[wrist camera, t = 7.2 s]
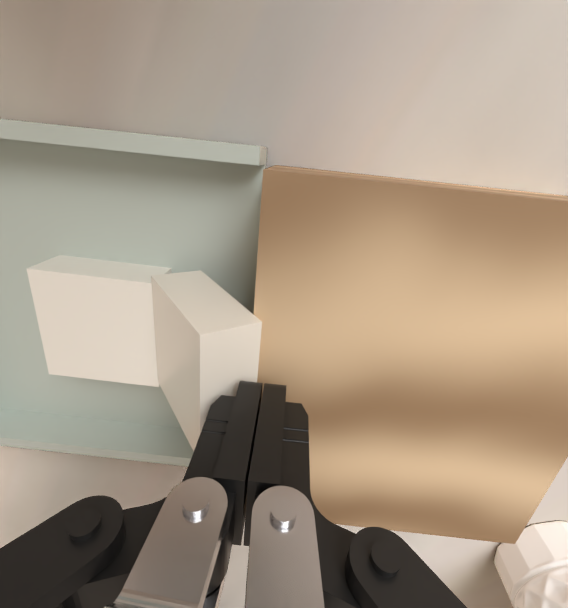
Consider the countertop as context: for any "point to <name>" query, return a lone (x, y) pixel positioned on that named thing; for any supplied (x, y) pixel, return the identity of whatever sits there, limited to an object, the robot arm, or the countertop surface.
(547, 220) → the tan flat block
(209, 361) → the tile front
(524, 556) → the white cup
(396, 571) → the robot arm
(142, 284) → the tile back
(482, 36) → the countertop surface
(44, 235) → the tray
